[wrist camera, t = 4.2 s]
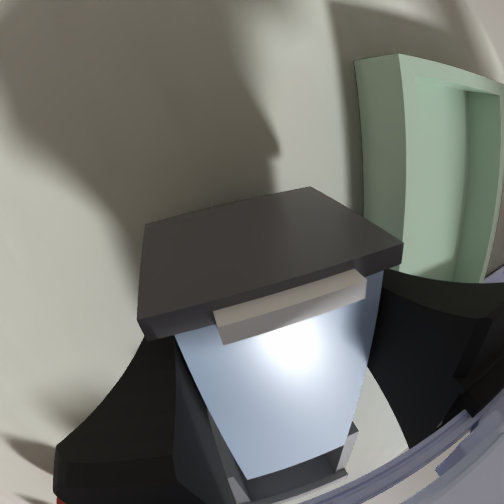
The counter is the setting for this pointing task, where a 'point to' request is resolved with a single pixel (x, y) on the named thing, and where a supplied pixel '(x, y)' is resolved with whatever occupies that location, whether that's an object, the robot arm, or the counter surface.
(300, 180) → the counter surface
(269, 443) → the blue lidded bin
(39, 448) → the counter surface
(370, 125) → the tray
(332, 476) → the printer bay
